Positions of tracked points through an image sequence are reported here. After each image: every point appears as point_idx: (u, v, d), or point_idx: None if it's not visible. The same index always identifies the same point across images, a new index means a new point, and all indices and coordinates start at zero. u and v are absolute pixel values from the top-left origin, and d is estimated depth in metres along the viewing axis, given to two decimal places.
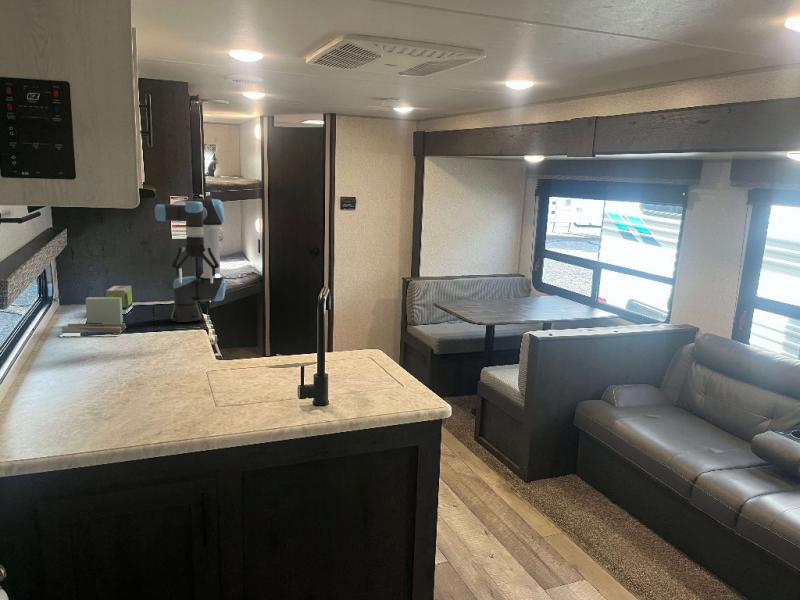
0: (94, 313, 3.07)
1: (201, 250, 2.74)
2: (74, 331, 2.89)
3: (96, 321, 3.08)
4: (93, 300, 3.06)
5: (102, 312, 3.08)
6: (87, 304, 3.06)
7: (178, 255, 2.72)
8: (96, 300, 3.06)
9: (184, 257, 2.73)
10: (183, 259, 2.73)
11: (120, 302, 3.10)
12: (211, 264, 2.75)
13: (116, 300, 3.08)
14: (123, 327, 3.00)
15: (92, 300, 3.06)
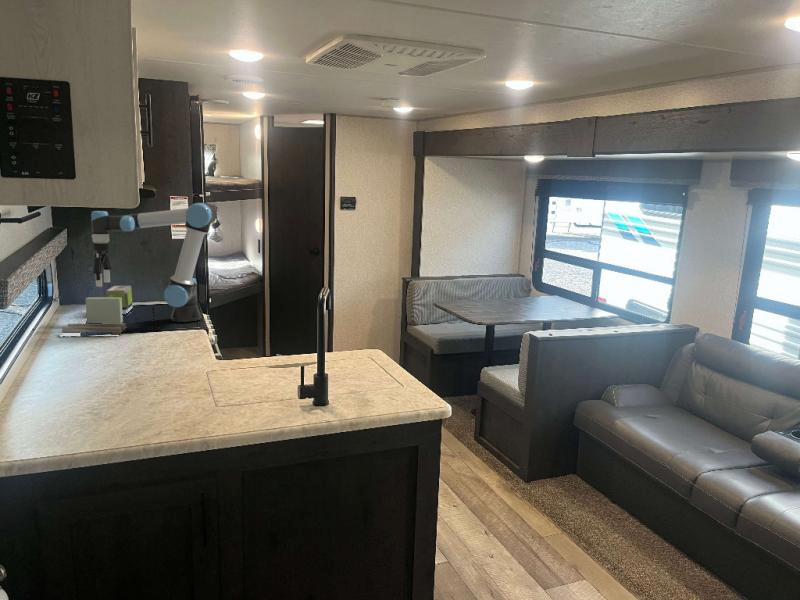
0: (94, 313, 3.07)
1: None
2: (74, 331, 2.89)
3: (96, 321, 3.08)
4: (93, 300, 3.06)
5: (102, 312, 3.08)
6: (87, 304, 3.06)
7: None
8: (96, 300, 3.06)
9: None
10: None
11: (120, 302, 3.10)
12: None
13: (116, 300, 3.08)
14: (123, 327, 3.00)
15: (92, 300, 3.06)
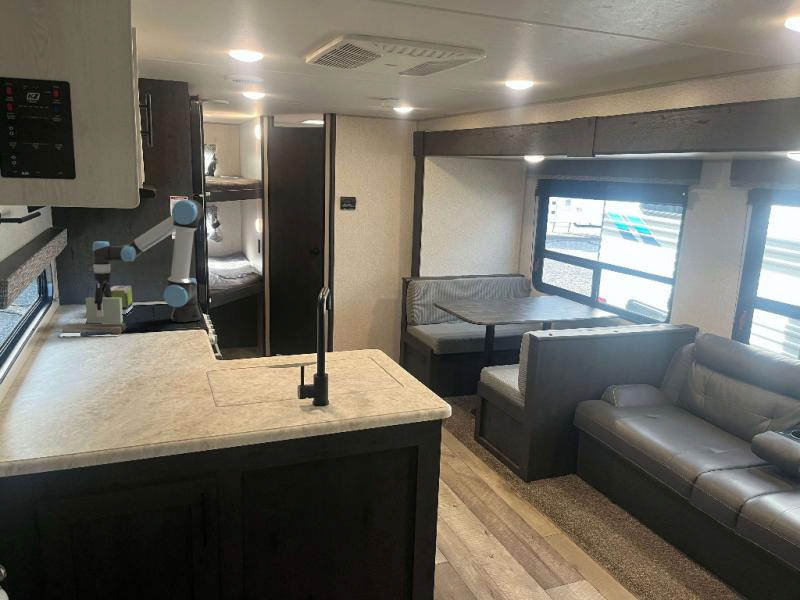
0: (94, 313, 3.07)
1: None
2: (74, 331, 2.89)
3: (96, 321, 3.08)
4: (93, 300, 3.06)
5: None
6: (87, 304, 3.06)
7: None
8: None
9: None
10: None
11: (120, 302, 3.10)
12: None
13: (116, 300, 3.08)
14: (123, 327, 3.00)
15: (92, 300, 3.06)
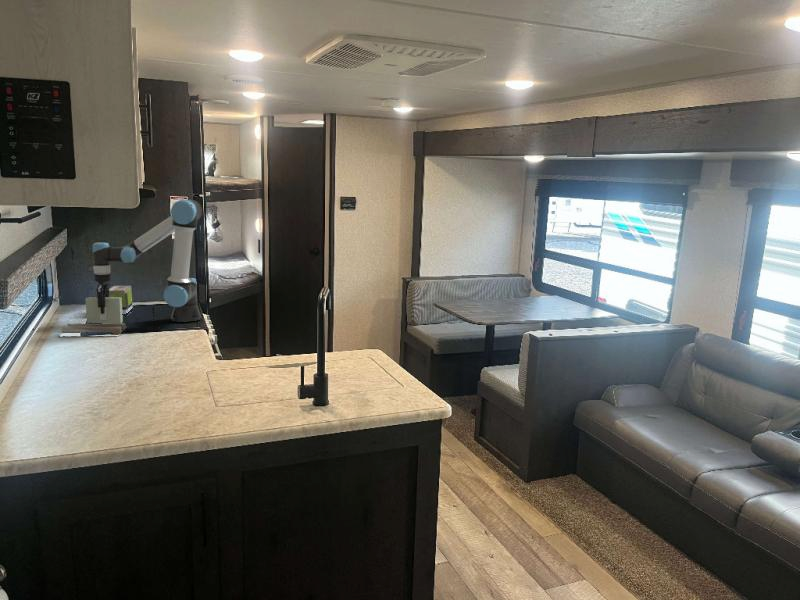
0: (94, 313, 3.07)
1: None
2: (74, 331, 2.89)
3: (96, 321, 3.08)
4: (93, 300, 3.06)
5: None
6: (87, 304, 3.06)
7: None
8: (96, 300, 3.06)
9: None
10: None
11: (120, 302, 3.10)
12: None
13: (116, 300, 3.08)
14: (123, 327, 3.00)
15: (92, 300, 3.06)
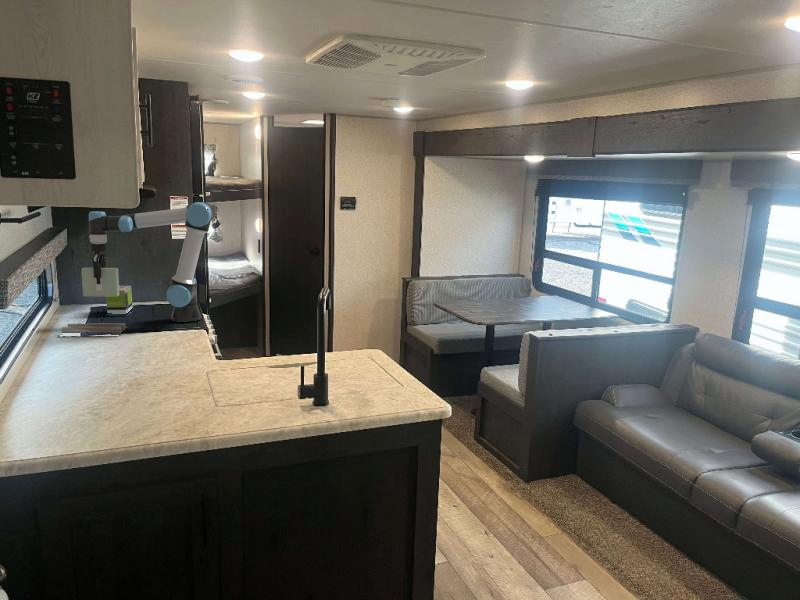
0: (90, 283, 3.02)
1: None
2: (74, 331, 2.89)
3: (92, 291, 3.03)
4: (89, 270, 3.01)
5: None
6: (83, 274, 3.01)
7: None
8: (92, 270, 3.01)
9: None
10: None
11: (116, 272, 3.05)
12: None
13: (112, 270, 3.02)
14: (123, 327, 3.00)
15: (88, 270, 3.01)
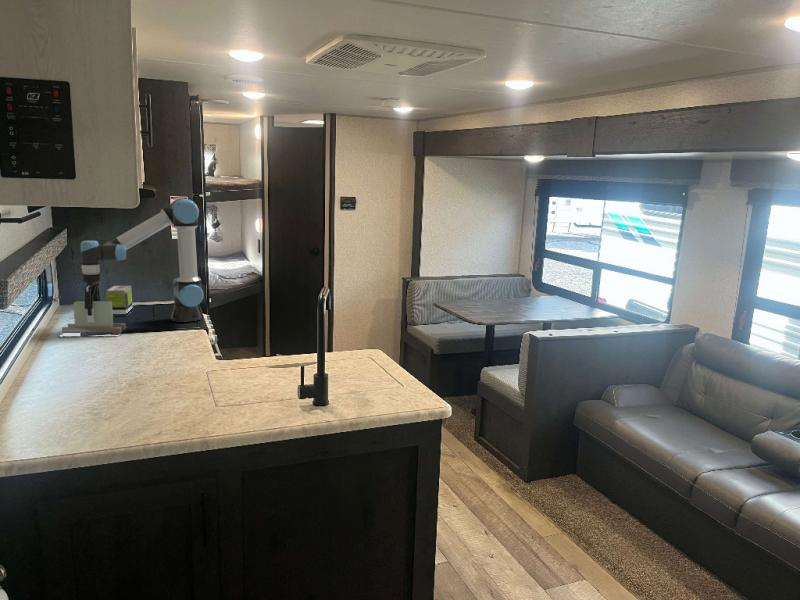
0: (82, 318, 2.91)
1: None
2: (74, 331, 2.89)
3: (85, 326, 2.92)
4: (81, 304, 2.90)
5: None
6: (75, 309, 2.89)
7: None
8: None
9: None
10: None
11: (110, 306, 2.94)
12: None
13: (106, 304, 2.91)
14: (123, 327, 3.00)
15: (80, 304, 2.90)
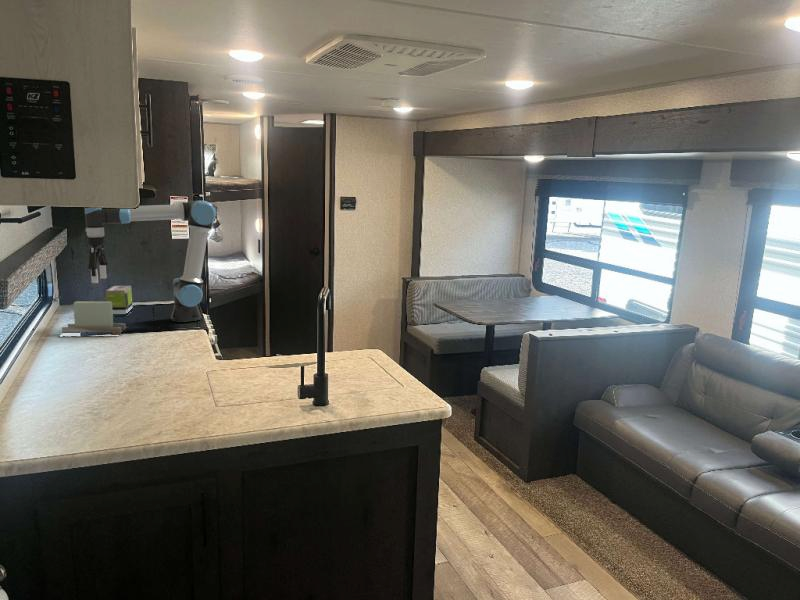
0: (82, 318, 2.91)
1: None
2: (74, 331, 2.89)
3: (85, 326, 2.92)
4: (81, 304, 2.90)
5: (91, 317, 2.91)
6: (75, 309, 2.89)
7: None
8: (85, 304, 2.90)
9: None
10: None
11: (110, 306, 2.94)
12: None
13: (106, 304, 2.91)
14: (123, 327, 3.00)
15: (80, 304, 2.90)
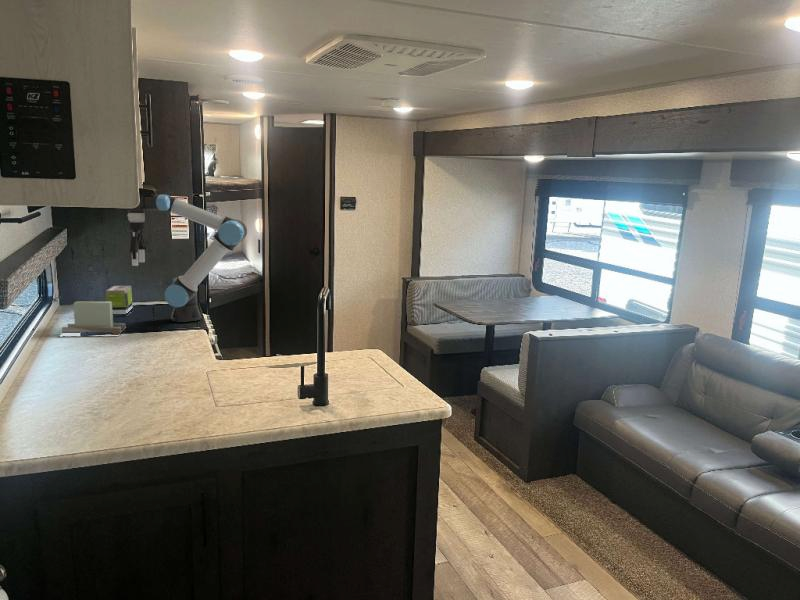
0: (82, 318, 2.91)
1: None
2: (74, 331, 2.89)
3: (85, 326, 2.92)
4: (81, 304, 2.90)
5: (91, 317, 2.91)
6: (75, 309, 2.89)
7: None
8: (85, 304, 2.90)
9: None
10: (137, 241, 3.09)
11: (110, 306, 2.94)
12: None
13: (106, 304, 2.91)
14: (123, 327, 3.00)
15: (80, 304, 2.90)
